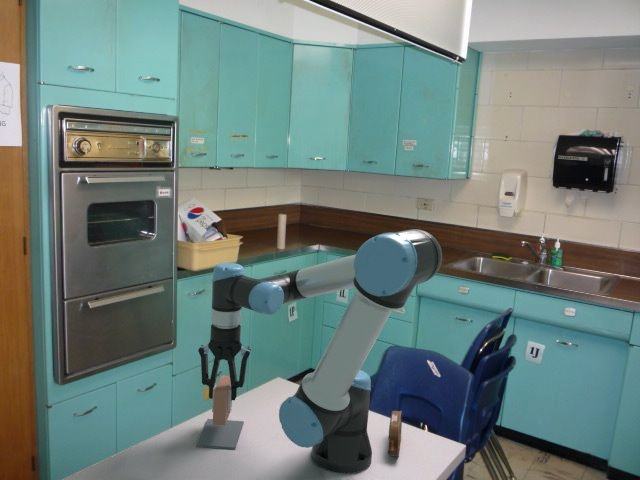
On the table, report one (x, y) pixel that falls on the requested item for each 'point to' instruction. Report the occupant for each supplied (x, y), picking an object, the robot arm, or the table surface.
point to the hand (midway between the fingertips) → (222, 410)
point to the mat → (220, 435)
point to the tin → (395, 433)
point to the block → (221, 401)
